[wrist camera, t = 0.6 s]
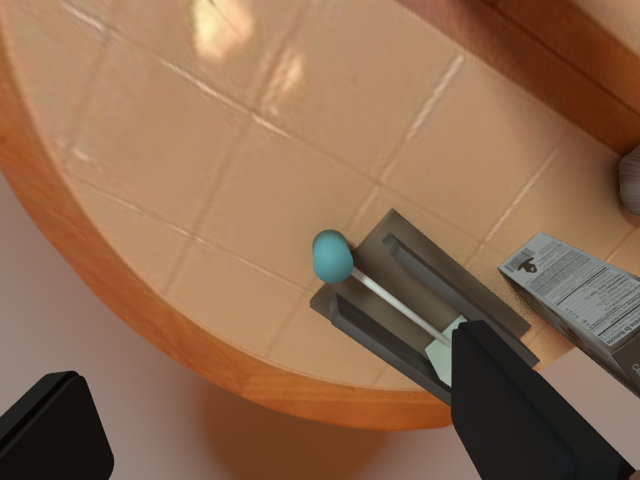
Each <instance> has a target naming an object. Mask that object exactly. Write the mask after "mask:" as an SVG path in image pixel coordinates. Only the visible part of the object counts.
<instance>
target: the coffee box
mask: <svg viewBox="0 0 640 480" xmlns="http://www.w3.org/2000/svg"><path fill="white" fill-rule="evenodd" d="M498 270H499V271H500V272H501V274H502V275H503V276H504V277H505V278H506V279H507V280H508V282H509V283H510V284H511V285H512V286H513V287H514V288H515V290H516V291H517V292H518V293H519V294H520V295H521V296H522V297H523V298H524V300H525V301H526V302H527V303H528V304H529V305H530V306H531V307H532V308H533V310H534V311H535V312H536V313H537V314H538V315H539V316H540V317H541V318H543V319H544V320H545V321H546V322H548V323H549V324H550V325H551V326H552V327H554V328H555V329H556V330H557V331H558V332H560V333H561V334H562V335H563V336H564V337H566V338H567V339H568V340H569V341H570V342H572V343H573V344H574V345H575V346H577V347H578V348H579V349H580V350H582V351H583V352H584V353H585V354H586V355H587V356H589V357H590V358H591V359H592V360H594V361H595V362H596V363H597V364H598V365H600V366H601V367H602V368H603V369H604V370H606V371H607V372H608V373H609V374H611V375H612V376H613V377H614V378H615V379H616V380H618V381H619V382H620V383H621V384H623V385H624V386H625V387H626V388H628V389H629V390H630V391H631V392H632V393H633V394H635V395H636V396H637V397H638V398H639V399H640V277H637V276H635V275H633V274H631V273H629V272H627V271H624V270H622V269H620V268H618V267H616V266H614V265H612V264H609V263H607V262H605V261H603V260H601V259H599V258H596V257H594V256H592V255H590V254H588V253H586V252H583V251H581V250H579V249H577V248H575V247H573V246H570V245H568V244H566V243H564V242H562V241H560V240H557V239H555V238H553V237H551V236H549V235H547V234H544V233H542V232H540V233H538V234H537V235H536V236H535V237H533V238H532V239H531V240H530V241H529V242H527V243H526V244H525V245H524V246H523V247H521V248H520V249H519V250H518V251H517V252H515V253H514V254H513V255H512V256H511V257H509V258H508V259H507V260H506V261H505V262H504V263H502V264H501V265H500V266H499V267H498Z"/></svg>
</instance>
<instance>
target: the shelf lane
mask: <svg viewBox="0 0 640 480" xmlns="http://www.w3.org/2000/svg"><path fill="white" fill-rule="evenodd" d="M351 256H352V259H353V266H354V267H355V268H357V269H358V270H359V271H361V272H362V273H363V274H365V275H366V276H367V277H369V278H370V279H371V280H372V281H374V282H375V283H376V284H378V285H379V286H380V287H382V288H383V289H384V290H386V291H387V292H388V293H390V294H391V295H392V296H393V297H395V298H396V299H397V300H399V301H400V302H401V303H403V304H404V305H405V306H407V307H408V308H409V309H410V310H412V311H413V312H414V313H416V314H417V315H418V316H420V317H421V318H422V319H424V320H425V321H426V322H428V323H429V324H430V325H431V326H433V327H434V328H435V329H437V330H438V331H439V332H441V333H442V332H443V331H444V330H446V329H447V328H448V327H449V326H450V325H451V324H452V323H453V322H454V321H455V320H456V319H457V318H458V317H459V316H460V315H461V314H462V315H463V316H465V317H466V318H467V319H468V320H470V321H476V320H484V321H485V322H486V323H487V324H488V325H489V326H490V327H491V328H492V329H493V330H494V331H495V332H496V333H497V334H498V335H499V336H500V337H501V338H502V339H503V340H504V341H505V342H506V343H507V344H508V345H509V346H510V347H511V348H512V349H513V350H514V351H515V352H516V353H517V354H518V355H519V356H520V357H521V358H522V359H523V360H524V361H525V362H526V363H527V364H528V365H529V366H530V367H531V368H532V367H534V366H535V365H536V364H537V363H538V362H539V361H540V360H539V359H538V358H537V357H536V356H535V355H534V354H533V353H532V352H531V351H530V350H529V349H528V348H527V347H526V346H525V345H524V344H523V343H522V342H521V341H520V339H519V337H520V336H521V335H522V334H523V333H525V332H526V331H527V330H528V329H529V328H530V327H531V325H530V324H529V323H528V322H527V321H526V320H525V319H523V318H522V317H521V316H520V315H519V314H517V313H516V312H515V311H514V310H513V309H512V308H510V307H509V306H508V305H507V304H506V303H504V302H503V301H502V300H501V299H500V298H498V297H497V296H496V295H495V294H494V293H493V292H491V291H490V290H489V289H488V288H487V287H485V286H484V285H483V284H482V283H481V282H479V281H478V280H477V279H476V278H475V277H474V276H472V275H471V274H470V273H469V272H468V271H466V270H465V269H464V268H463V267H462V266H460V265H459V264H458V263H457V262H456V261H455V260H453V259H452V258H451V257H450V256H449V255H447V254H446V253H445V252H444V251H443V250H442V249H440V248H439V247H438V246H437V245H436V244H434V243H433V242H432V241H431V240H430V239H428V238H427V237H426V236H425V235H424V234H423V233H421V232H420V231H419V230H418V229H417V228H415V227H414V226H413V225H412V224H411V223H409V222H408V221H407V220H406V219H405V218H404V217H402V216H401V215H400V214H399V213H398V212H396V211H395V210H394V209H393V208H392V209H391V210H390V211H389V212H388V213H387V215H386V216H385V217H384V218H383V219H382V220H381V221H380V222H379V224H378V225H377V226H376V227H375V228H374V229H373V230H372V231H371V232H370V234H369V235H368V236H367V237H366V238H365V239H364V240H363V241H362V243H361V244H360V245H359V246H358V247H357V248H356V249H355V250H354V252H353V253H352V254H351ZM310 307H311V308H312V309H314V310H315V311H317V312H318V313H319V314H321V315H322V316H324V317H325V318H327V319H328V320H330V321H331V324H332V325H334V326H335V327H337V328H338V329H339V330H341V331H342V332H344V333H345V334H347V335H348V336H349V337H351V338H352V339H354V340H355V341H357V342H358V343H359V344H361V345H362V346H364V347H365V348H367V349H368V350H370V351H371V352H372V353H374V354H375V355H377V356H378V357H380V358H381V359H382V360H384V361H385V362H387V363H388V364H390V365H391V366H392V367H394V368H395V369H397V370H398V371H400V372H401V373H402V374H404V375H405V376H407V377H408V378H410V379H411V380H413V381H414V382H415V383H417V384H418V385H420V386H421V387H423V388H424V389H425V390H427V391H428V392H430V393H431V394H433V395H434V396H435V397H437V398H438V399H440V400H441V401H443V402H444V403H445V404H447V405H448V406H450V407H451V387H450V386H449V385H447V384H446V383H444V382H443V381H442V380H440V378H439V376H438V374H437V372H436V371H435V369H434V367H433V365H432V363H431V361H430V359H429V357H428V355H427V353H426V351H425V349H426V348H427V347H428V346H429V345H430V344H431V343H432V342H433V341H434V340H435V339H436V338H435V337H434V336H432V335H431V334H430V333H428V332H427V331H426V330H424V329H423V328H422V327H420V326H419V325H418V324H416V323H415V322H414V321H412V320H411V319H410V318H408V317H407V316H406V315H404V314H403V313H402V312H400V311H399V310H398V309H396V308H395V307H394V306H392V305H391V304H390V303H388V302H387V301H386V300H384V299H383V298H382V297H380V296H379V295H378V294H377V293H375V292H374V291H373V290H371V289H370V288H369V287H367V286H366V285H365V284H363V283H362V282H361V281H359V280H358V279H357V278H355V277H354V276H353V275H351V274H350V275H349V277H348V278H346V279H345V280H343V281H341V282H339V283H327V282H326V283H325V284H324V285H323V286H322V287H321V289H320V290H319V291H318V292H317V293H316V294H315V295H314V296H313V297H312V299H311V300H310Z"/></svg>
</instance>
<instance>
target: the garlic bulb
mask: <svg viewBox="0 0 640 480" xmlns="http://www.w3.org/2000/svg"><path fill="white" fill-rule="evenodd" d="M619 172H620V175H619V184H620V191H619V195H620V198H621V200H622V201H623V205H624V207H625V208H626V209H627V210H628V211H629V212H631V213H633V214H636V215H640V144H639V145H637V146H636V147H635V148H634V149H633V151H632V152H631V153H629V154H628V155H626V156H624V157H623V158H622V159H621V161H620V163H619Z"/></svg>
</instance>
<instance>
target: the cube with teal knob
mask: <svg viewBox="0 0 640 480" xmlns="http://www.w3.org/2000/svg"><path fill="white" fill-rule="evenodd" d="M313 266H314V271H315V273H316V275H317V276H318V277H319V278H320V279H321V280H322V281H324V282H327V283H339V282H341V281H343V280H345V279H346V278H348V277H349V275H350V274H351V275H353V276H354V277H355V278H357V279H358V280H359V281H361V282H362V283H363V284H365V285H366V286H367V287H369V288H370V289H371V290H373V291H374V292H375V293H377V294H378V295H379V296H380V297H382V298H383V299H384V300H386V301H387V302H388V303H390V304H391V305H392V306H394V307H395V308H396V309H398V310H399V311H400V312H402V313H403V314H404V315H406V316H407V317H408V318H410V319H411V320H412V321H414V322H415V323H416V324H418V325H419V326H420V327H422V328H423V329H424V330H426V331H427V332H428V333H430V334H431V335H432V336H434V337H435V338H436V339H435V340H434V341H433V342H432V343H431V344H430V345H429V346H428V347H427V348H426V349H425V351H426V353H427V355H428V357H429V359H430V361H431V363H432V365H433V367H434V369H435V371H436V372H437V374H438V376H439V378H440V380H442V381H443V382H444V383H446V384H447V385H449V386H450V387H451V350H452V330H453V329H458V325H459V323H460V322H468V321H470V320H468V319H467V318H466V317H465V316H463V315H462V314H461V315H460V316H459V317H458V318H457V319H456V320H455V321H454V322H453V323H452V324H451V325H450V326H449V327H448V328H447V329H446V330H444V331H443V332H442V333H441V332H439V331H438V330H437V329H435V328H434V327H433V326H431V325H430V324H429V323H428V322H426V321H425V320H424V319H422V318H421V317H420V316H418V315H417V314H416V313H414V312H413V311H412V310H410V309H409V308H408V307H407V306H405V305H404V304H403V303H401V302H400V301H399V300H397V299H396V298H395V297H393V296H392V295H391V294H390V293H388V292H387V291H386V290H384V289H383V288H382V287H380V286H379V285H378V284H376V283H375V282H374V281H372V280H371V279H370V278H369V277H367V276H366V275H365V274H363V273H362V272H361V271H359V270H358V269H357V268H355V267H354V266H353V259H352V256H351V253H350V250H349V247H348V244H347V241H346V239H345V237H344V236H343V235H342V234H341V233H340V232H338V231H335V230H325V231H322V232H321V233H319V234H318V235H317V236H316V237H315V239H314V241H313Z"/></svg>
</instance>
